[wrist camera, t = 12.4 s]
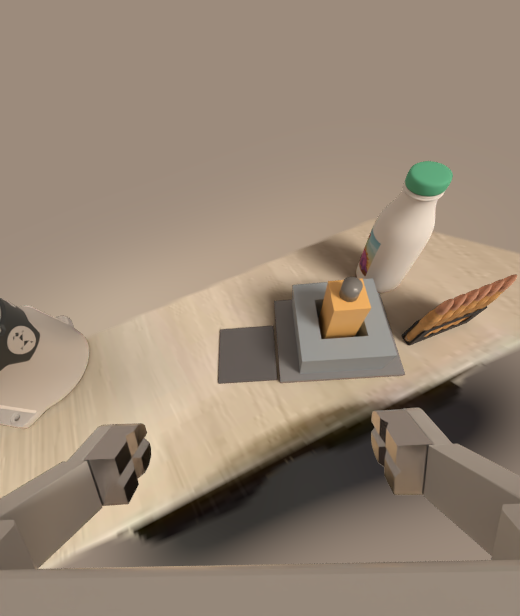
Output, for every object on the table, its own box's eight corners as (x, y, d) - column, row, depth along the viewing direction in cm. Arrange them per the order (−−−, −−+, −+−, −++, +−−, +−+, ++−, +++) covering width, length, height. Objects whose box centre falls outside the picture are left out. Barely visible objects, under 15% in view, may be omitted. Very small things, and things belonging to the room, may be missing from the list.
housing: (280, 383, 39) (279, 370, 33) (274, 303, 46) (272, 281, 40) (402, 375, 38) (424, 361, 32) (377, 295, 45) (391, 271, 39)
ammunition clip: (408, 345, 40) (451, 308, 29) (400, 335, 41) (440, 295, 30) (467, 322, 41) (529, 278, 30) (459, 312, 42) (516, 266, 31)
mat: (218, 383, 40) (218, 383, 39) (220, 330, 44) (220, 329, 44) (277, 379, 39) (277, 379, 39) (273, 326, 43) (273, 325, 43)
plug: (321, 347, 40) (337, 302, 28) (317, 323, 42) (330, 271, 30) (348, 345, 40) (376, 299, 28) (343, 321, 42) (367, 268, 30)
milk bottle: (408, 272, 46) (481, 165, 29) (386, 301, 44) (452, 203, 26) (369, 253, 49) (414, 145, 32) (347, 279, 47) (383, 177, 29)
